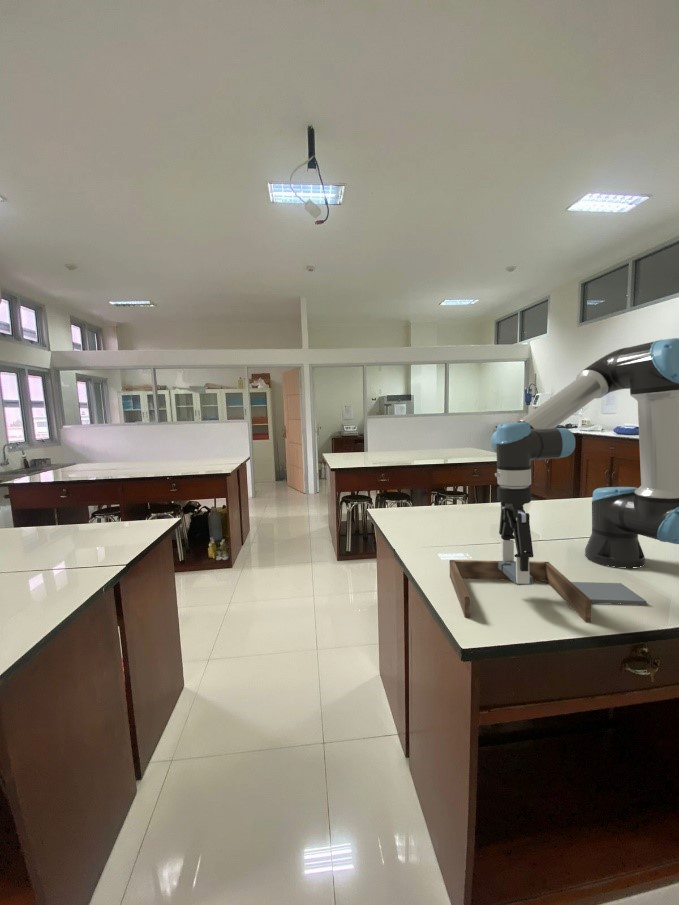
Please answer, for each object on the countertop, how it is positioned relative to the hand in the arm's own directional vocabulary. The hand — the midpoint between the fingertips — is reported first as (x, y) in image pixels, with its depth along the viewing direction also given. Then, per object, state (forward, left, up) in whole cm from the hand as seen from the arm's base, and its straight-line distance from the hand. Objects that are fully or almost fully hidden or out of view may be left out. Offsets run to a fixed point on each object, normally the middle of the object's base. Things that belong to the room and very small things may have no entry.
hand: (515, 573), depth 92 cm
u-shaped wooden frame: (0, -2, -7) cm, 7 cm away
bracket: (0, 0, -1) cm, 1 cm away
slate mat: (-23, -5, -7) cm, 24 cm away
